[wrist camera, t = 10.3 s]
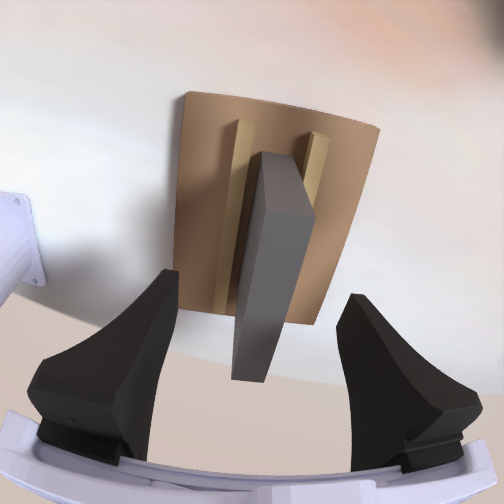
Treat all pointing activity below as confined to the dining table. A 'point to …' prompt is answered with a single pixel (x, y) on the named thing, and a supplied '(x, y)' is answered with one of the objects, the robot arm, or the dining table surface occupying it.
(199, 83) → the dining table surface
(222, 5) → the dining table surface
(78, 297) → the dining table surface
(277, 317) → the grey upright slab
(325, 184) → the board
